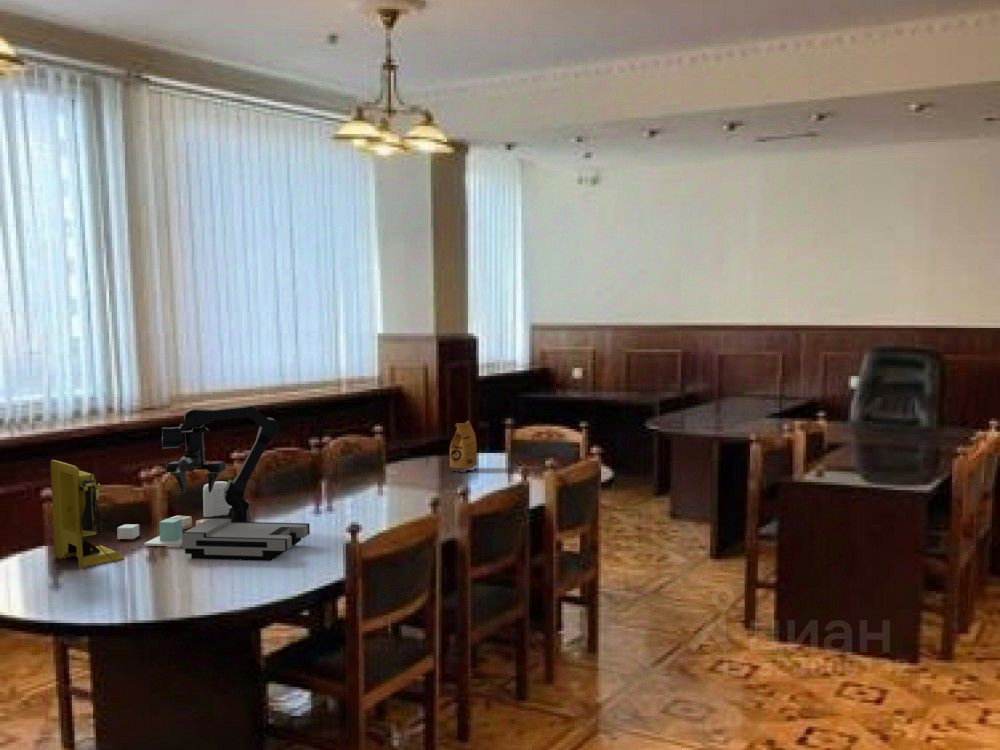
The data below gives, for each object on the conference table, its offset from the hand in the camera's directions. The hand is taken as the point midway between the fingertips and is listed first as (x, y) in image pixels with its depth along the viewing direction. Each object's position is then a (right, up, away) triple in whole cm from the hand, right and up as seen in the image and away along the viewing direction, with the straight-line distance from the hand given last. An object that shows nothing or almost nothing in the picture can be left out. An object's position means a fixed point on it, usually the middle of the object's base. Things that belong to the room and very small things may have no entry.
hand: (196, 492), depth 316 cm
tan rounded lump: (+4, -13, -3) cm, 14 cm away
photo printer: (0, -12, +23) cm, 26 cm away
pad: (-3, -14, -15) cm, 21 cm away
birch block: (-7, -13, +4) cm, 15 cm away
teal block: (-3, -13, -15) cm, 20 cm away
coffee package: (+85, -4, +109) cm, 138 cm away
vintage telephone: (-20, -16, -36) cm, 44 cm away
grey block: (-20, -14, -8) cm, 25 cm away
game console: (+25, -15, -28) cm, 40 cm away
